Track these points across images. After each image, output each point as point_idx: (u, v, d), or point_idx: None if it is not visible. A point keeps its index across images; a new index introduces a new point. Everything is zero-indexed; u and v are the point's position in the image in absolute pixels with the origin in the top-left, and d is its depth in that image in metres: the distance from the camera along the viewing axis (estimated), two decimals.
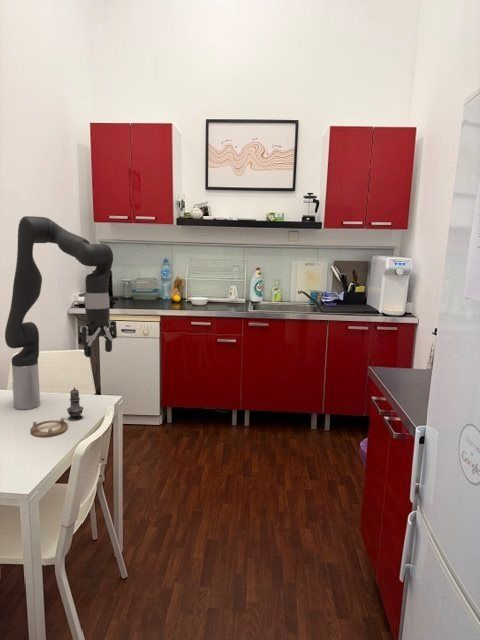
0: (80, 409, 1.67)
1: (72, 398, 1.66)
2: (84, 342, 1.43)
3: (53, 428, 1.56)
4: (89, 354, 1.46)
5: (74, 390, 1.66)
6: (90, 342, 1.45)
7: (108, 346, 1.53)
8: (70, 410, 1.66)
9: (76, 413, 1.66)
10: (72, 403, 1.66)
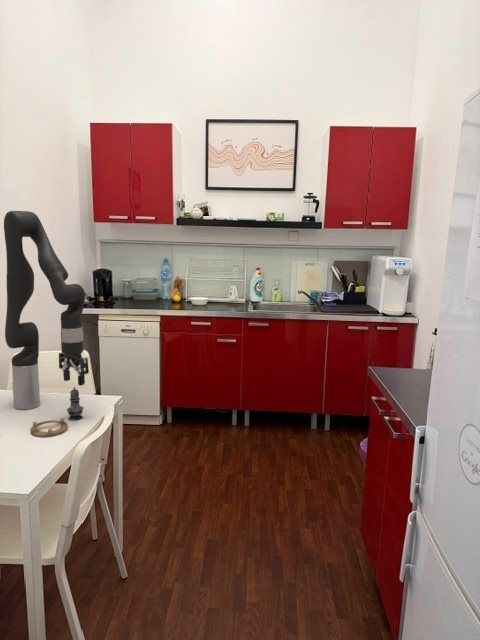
0: (80, 409, 1.67)
1: (72, 398, 1.66)
2: None
3: (53, 428, 1.56)
4: None
5: (74, 390, 1.66)
6: None
7: (68, 375, 1.68)
8: (70, 410, 1.66)
9: (76, 413, 1.66)
10: (72, 403, 1.66)
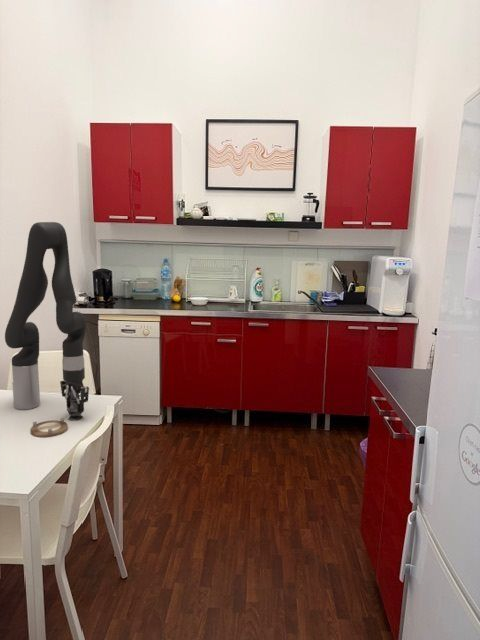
0: None
1: (72, 398, 1.66)
2: None
3: (53, 428, 1.56)
4: None
5: None
6: None
7: None
8: (70, 410, 1.66)
9: (76, 413, 1.66)
10: (72, 403, 1.66)
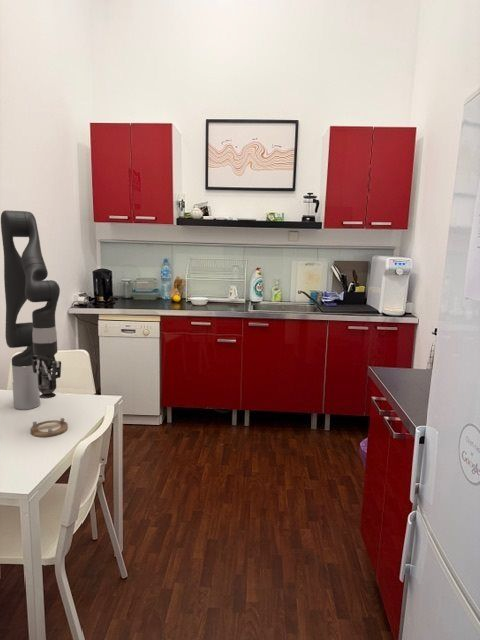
0: None
1: (43, 374, 1.53)
2: None
3: (53, 428, 1.56)
4: (55, 386, 1.54)
5: None
6: None
7: None
8: (41, 387, 1.53)
9: (48, 390, 1.53)
10: (44, 379, 1.53)
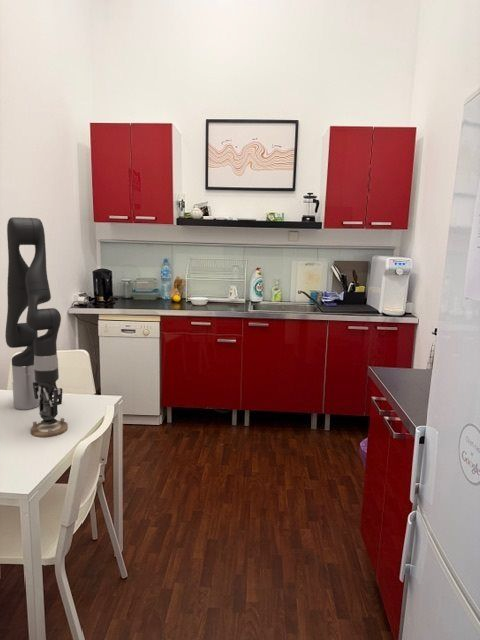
0: None
1: (45, 400, 1.54)
2: None
3: (53, 428, 1.56)
4: None
5: None
6: None
7: None
8: (43, 413, 1.54)
9: (49, 417, 1.54)
10: (45, 406, 1.54)
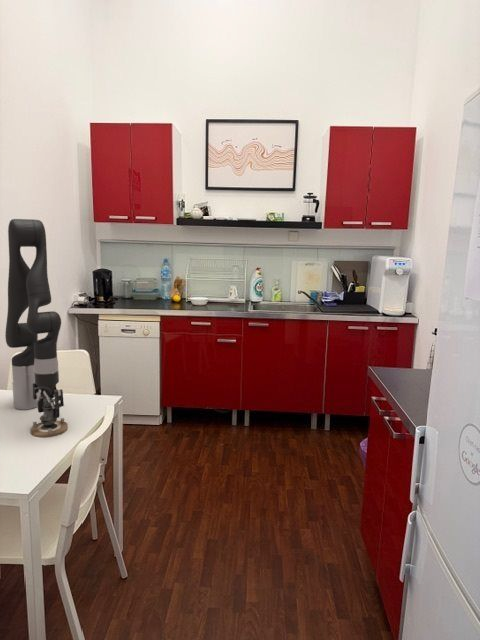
0: None
1: (45, 406, 1.55)
2: None
3: None
4: None
5: None
6: None
7: None
8: (43, 419, 1.55)
9: (49, 422, 1.55)
10: (45, 411, 1.55)
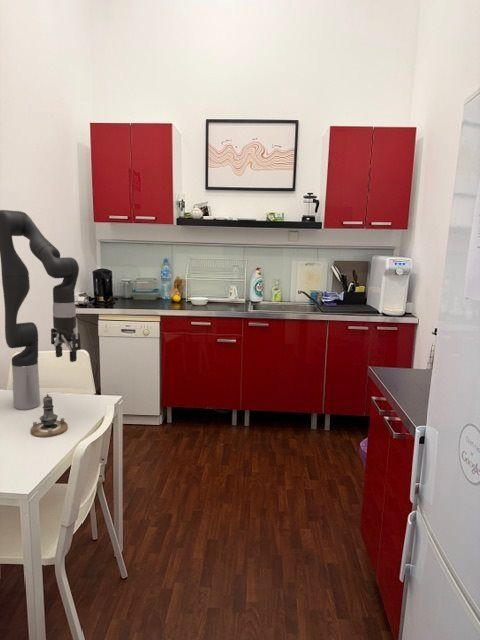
0: (54, 417, 1.56)
1: (45, 406, 1.55)
2: None
3: None
4: None
5: (47, 397, 1.55)
6: None
7: (60, 351, 1.64)
8: (43, 419, 1.55)
9: (49, 422, 1.55)
10: (45, 411, 1.55)
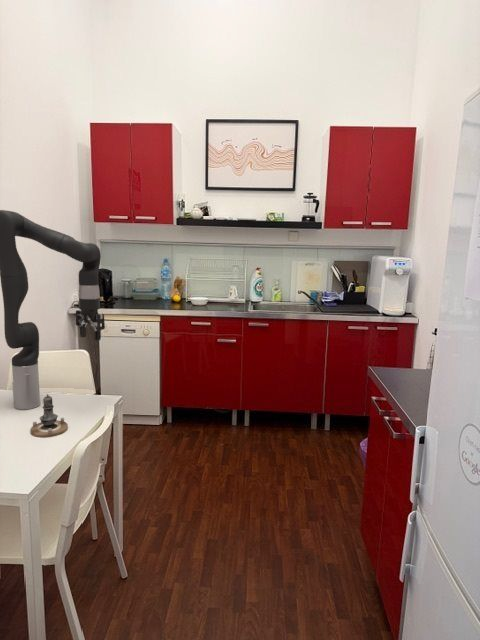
0: (54, 417, 1.56)
1: (45, 406, 1.55)
2: None
3: None
4: None
5: (47, 397, 1.55)
6: None
7: (84, 332, 1.75)
8: (43, 419, 1.55)
9: (49, 422, 1.55)
10: (45, 411, 1.55)
